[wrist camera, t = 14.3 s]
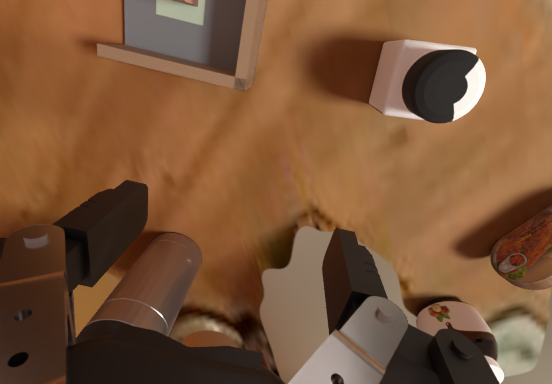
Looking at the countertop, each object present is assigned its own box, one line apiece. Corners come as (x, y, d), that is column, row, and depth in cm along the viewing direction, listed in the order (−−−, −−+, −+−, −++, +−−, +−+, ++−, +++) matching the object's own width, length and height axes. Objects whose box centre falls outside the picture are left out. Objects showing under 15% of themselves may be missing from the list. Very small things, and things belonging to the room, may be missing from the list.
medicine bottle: (367, 104, 36) (396, 125, 25) (383, 41, 33) (423, 35, 22) (423, 111, 36) (476, 136, 25) (444, 49, 33) (515, 47, 22)
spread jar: (471, 292, 48) (519, 357, 38) (471, 336, 53) (514, 406, 42) (398, 302, 51) (424, 367, 40) (404, 344, 55) (429, 412, 45)
